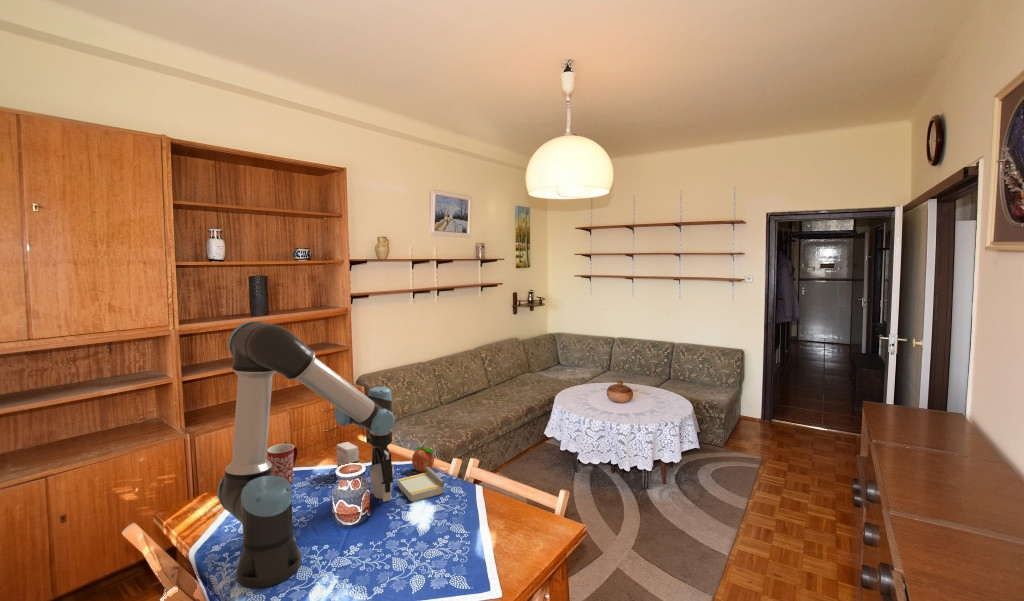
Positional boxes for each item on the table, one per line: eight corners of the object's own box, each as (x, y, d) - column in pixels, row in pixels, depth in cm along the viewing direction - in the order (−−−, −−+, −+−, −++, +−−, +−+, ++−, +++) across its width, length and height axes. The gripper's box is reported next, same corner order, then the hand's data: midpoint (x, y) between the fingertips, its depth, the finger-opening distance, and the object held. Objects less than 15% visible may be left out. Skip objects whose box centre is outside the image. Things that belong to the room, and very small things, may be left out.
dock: (444, 493, 171) (443, 480, 171) (411, 502, 165) (411, 489, 165) (428, 478, 183) (428, 466, 183) (397, 486, 177) (397, 474, 176)
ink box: (359, 476, 185) (359, 446, 184) (347, 480, 181) (347, 450, 180) (348, 470, 191) (347, 440, 190) (336, 474, 187) (335, 444, 186)
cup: (399, 493, 171) (398, 466, 170) (381, 503, 164) (380, 474, 163) (382, 488, 175) (382, 461, 175) (365, 497, 168) (364, 469, 168)
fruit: (424, 477, 184) (424, 451, 184) (406, 471, 190) (405, 446, 189) (439, 469, 192) (439, 444, 191) (421, 463, 197) (421, 439, 196)
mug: (283, 490, 173) (281, 453, 172) (262, 487, 176) (261, 451, 175) (307, 475, 185) (306, 441, 184) (287, 472, 188) (286, 438, 187)
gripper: (402, 439, 161) (403, 504, 163) (381, 421, 179) (383, 480, 181) (380, 444, 157) (381, 511, 159) (361, 425, 175) (363, 485, 177)
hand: (382, 494), depth 170 cm, fingers open, 9 cm apart
